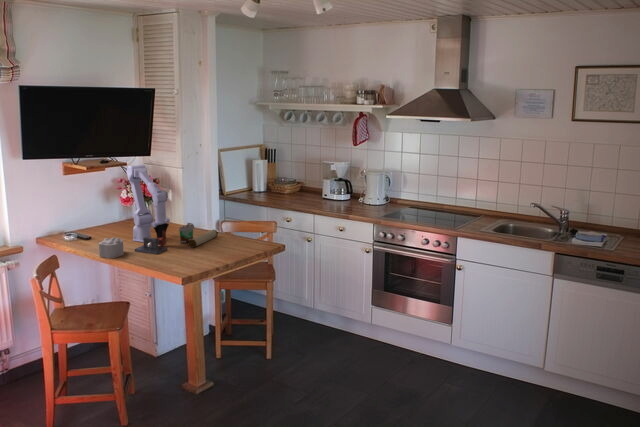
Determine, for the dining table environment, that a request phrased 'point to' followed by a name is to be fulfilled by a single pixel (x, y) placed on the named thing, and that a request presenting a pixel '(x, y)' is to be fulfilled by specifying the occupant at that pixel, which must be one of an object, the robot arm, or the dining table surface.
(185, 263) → the dining table surface
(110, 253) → the lumpy-topped squat cylinder
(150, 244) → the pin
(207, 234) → the rolling pin
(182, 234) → the food container
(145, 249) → the eye bracket
